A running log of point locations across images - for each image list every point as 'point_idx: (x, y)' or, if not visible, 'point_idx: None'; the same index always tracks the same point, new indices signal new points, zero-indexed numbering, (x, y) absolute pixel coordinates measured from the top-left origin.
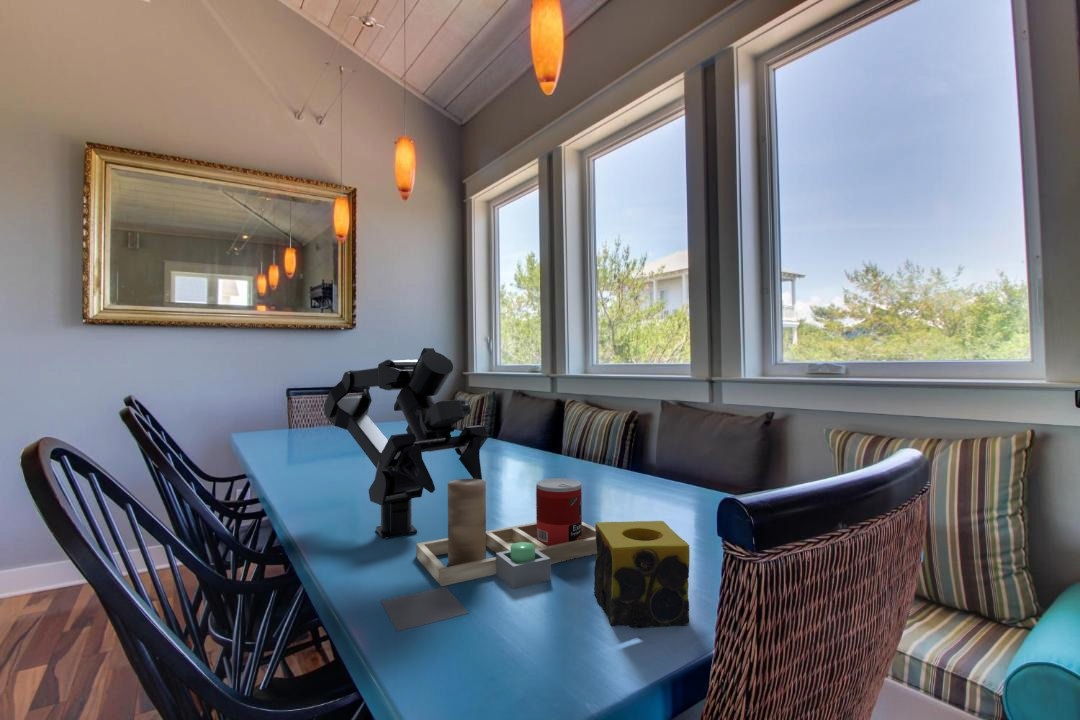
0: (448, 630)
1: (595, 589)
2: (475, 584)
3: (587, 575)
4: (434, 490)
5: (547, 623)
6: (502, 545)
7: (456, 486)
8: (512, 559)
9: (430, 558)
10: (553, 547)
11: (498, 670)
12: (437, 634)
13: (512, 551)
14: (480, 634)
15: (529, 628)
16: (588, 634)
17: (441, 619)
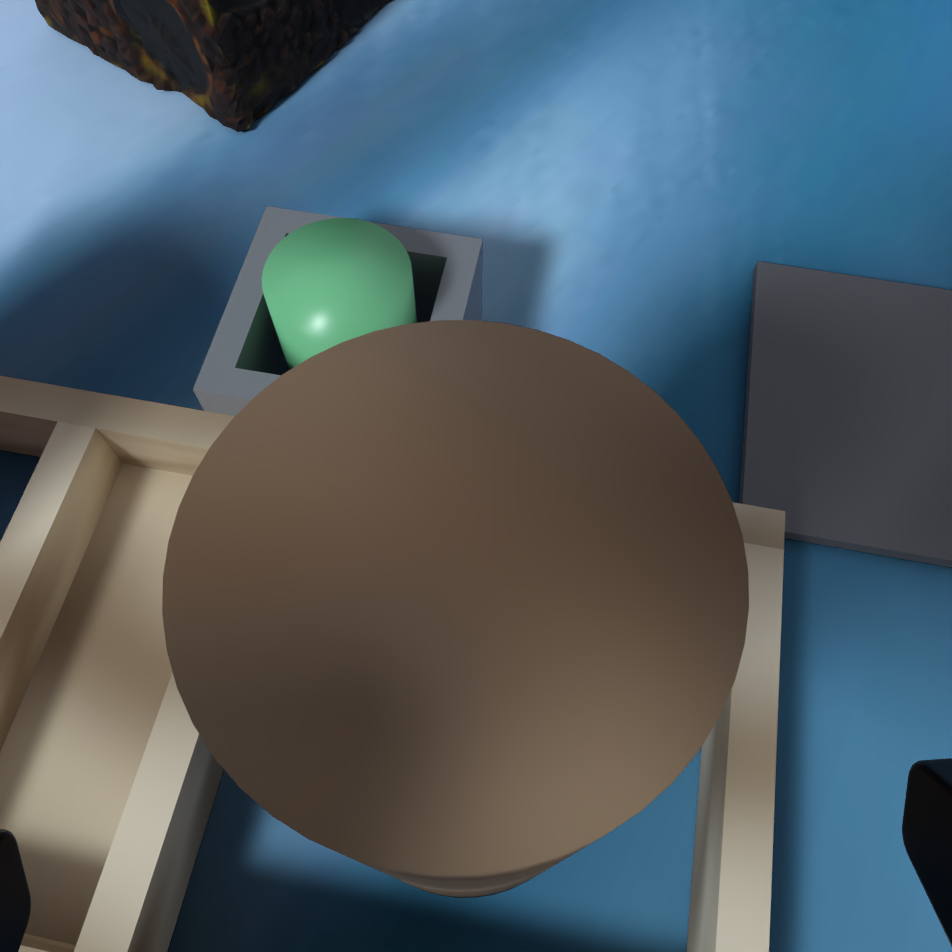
0: (862, 239)
1: (255, 96)
2: None
3: (108, 248)
4: (909, 782)
5: (541, 96)
6: None
7: (689, 464)
8: (414, 319)
9: (770, 742)
10: (49, 388)
11: (810, 22)
12: (908, 240)
13: (411, 289)
14: (771, 164)
15: (610, 107)
16: (484, 3)
17: (874, 282)
